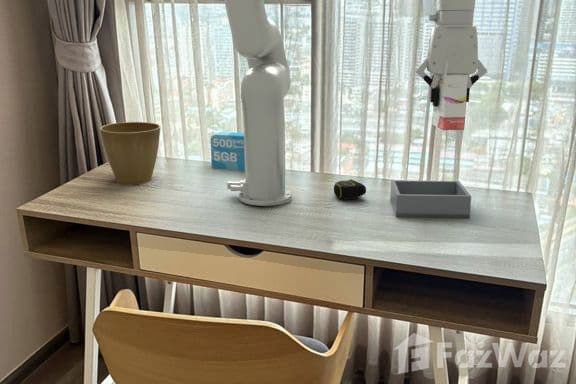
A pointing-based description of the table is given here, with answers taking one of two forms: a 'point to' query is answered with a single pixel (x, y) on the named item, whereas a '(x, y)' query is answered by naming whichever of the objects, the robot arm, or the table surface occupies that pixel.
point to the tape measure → (349, 189)
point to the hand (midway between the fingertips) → (449, 105)
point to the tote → (430, 199)
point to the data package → (228, 151)
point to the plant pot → (131, 150)
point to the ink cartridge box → (451, 101)
